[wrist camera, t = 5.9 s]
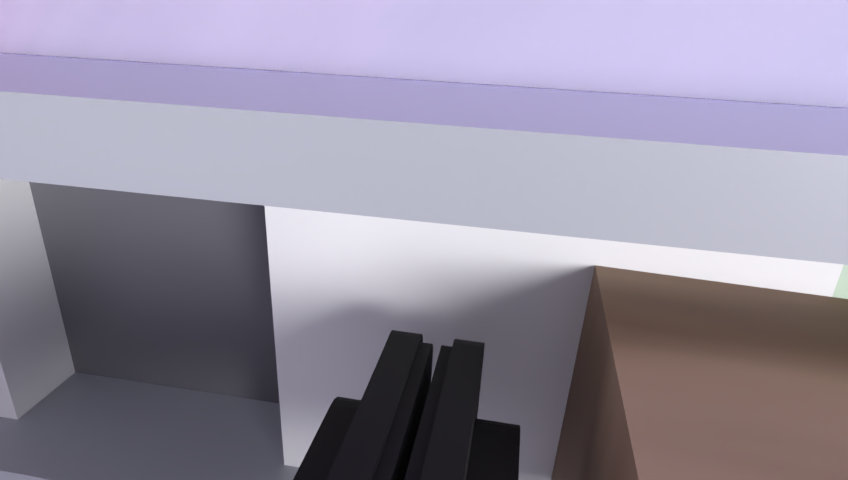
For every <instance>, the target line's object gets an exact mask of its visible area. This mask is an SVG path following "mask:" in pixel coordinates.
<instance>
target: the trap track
mask: <svg viewBox="0 0 848 480" xmlns="http://www.w3.org/2000/svg"><path fill="white" fill-rule="evenodd" d="M595 265H597V266H605V267H612V268H620V269H627V270H634V271H642V272H649V273H657V274H664V275H672V276H679V277H687V278H694V279H702V280H709V281H717V282H724V283H732V284H739V285H746V286H754V287H761V288H769V289H776V290H784V291H791V292H799V293H806V294H814V295H821V296H829V297H836V298H843V299H848V108H837V107H822V106H806V105H791V104H776V103H760V102H745V101H730V100H714V99H699V98H684V97H668V96H653V95H638V94H622V93H607V92H592V91H576V90H561V89H546V88H530V87H515V86H500V85H484V84H469V83H454V82H438V81H423V80H408V79H392V78H377V77H362V76H346V75H331V74H316V73H300V72H285V71H270V70H254V69H239V68H224V67H208V66H193V65H178V64H162V63H147V62H132V61H116V60H101V59H86V58H70V57H55V56H40V55H25V54H9V53H0V480H293V479H294V477H295V475H296V473H297V471H298V469H299V467H300V465H301V463H302V461H303V459H304V457H305V455H306V453H307V451H308V449H309V447H310V445H311V443H312V441H313V439H314V437H315V435H316V433H317V431H318V429H319V427H320V425H321V423H322V421H323V419H324V417H325V415H326V413H327V411H328V409H329V407H330V405H331V403H332V402H333V400H334V399H335V398H336V397H344V398H350V399H357V400H361V399H362V397H363V394H364V392H365V390H366V388H367V385H368V383H369V381H370V378H371V376H372V374H373V371H374V369H375V367H376V364H377V362H378V360H379V358H380V355H381V353H382V351H383V348H384V346H385V344H386V341H387V339H388V337H389V334H390V332H391V331H392V330H396V331H403V332H411V333H418V334H422V335H423V342H424V343H431V344H433V359H432V375H431V381H432V377H433V373H434V370H435V366H436V362H437V359H438V355H439V352H440V348H441V345H445V346H453V342H454V339H461V340H468V341H475V342H483V343H485V347H484V357H483V367H482V376H481V386H480V395H479V405H478V415H477V419H483V420H490V421H496V422H503V423H509V424H515V425H520V453H519V477H518V480H551V477H552V472H553V467H554V462H555V457H556V453H557V448H558V443H559V438H560V433H561V428H562V423H563V419H564V414H565V409H566V404H567V399H568V394H569V389H570V385H571V380H572V375H573V370H574V365H575V360H576V355H577V350H578V346H579V341H580V336H581V331H582V326H583V321H584V316H585V312H586V307H587V302H588V297H589V292H590V287H591V282H592V277H593V273H594V268H595Z"/></svg>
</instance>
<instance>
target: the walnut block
mask: <svg viewBox="0 0 848 480" xmlns="http://www.w3.org/2000/svg"><path fill="white" fill-rule="evenodd" d="M551 480H848V299H843V298H836V297H829V296H821V295H814V294H806V293H799V292H791V291H784V290H776V289H769V288H761V287H754V286H746V285H739V284H732V283H724V282H717V281H709V280H702V279H694V278H687V277H679V276H672V275H664V274H657V273H649V272H642V271H634V270H627V269H620V268H612V267H605V266H597V265H595V268H594V273H593V277H592V282H591V287H590V292H589V297H588V302H587V307H586V312H585V316H584V321H583V326H582V331H581V336H580V341H579V346H578V350H577V355H576V360H575V365H574V370H573V375H572V380H571V385H570V389H569V394H568V399H567V404H566V409H565V414H564V419H563V423H562V428H561V433H560V438H559V443H558V448H557V453H556V457H555V462H554V467H553V472H552V477H551Z"/></svg>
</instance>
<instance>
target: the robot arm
mask: <svg viewBox="0 0 848 480" xmlns="http://www.w3.org/2000/svg"><path fill="white" fill-rule="evenodd" d="M484 347H485V343H483V342H475V341H468V340H461V339H454V342H453V346H445V345H441V348H440V352H439V355H438V359H437V362H436V366H435V370H434V373H433V377H432V381H431V375H432V359H433V344H431V343H424V342H423V335H422V334H418V333H411V332H403V331H396V330H392V331H391V332H390V334H389V337H388V339H387V341H386V344H385V346H384V348H383V351H382V353H381V355H380V358H379V360H378V362H377V364H376V367H375V369H374V371H373V374H372V376H371V378H370V381H369V383H368V385H367V388H366V390H365V392H364V394H363V397H362V399H361V400H357V399H350V398H344V397H336V398H335V399H334V400H333V402H332V403H331V405H330V407H329V409H328V411H327V413H326V415H325V417H324V419H323V421H322V423H321V425H320V427H319V429H318V431H317V433H316V435H315V437H314V439H313V441H312V443H311V445H310V447H309V449H308V451H307V453H306V455H305V457H304V459H303V461H302V463H301V465H300V467H299V469H298V471H297V473H296V475H295V477H294V479H293V480H518V477H519V453H520V425H515V424H509V423H503V422H496V421H490V420H483V419H477V415H478V405H479V395H480V386H481V376H482V367H483V357H484Z"/></svg>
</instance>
